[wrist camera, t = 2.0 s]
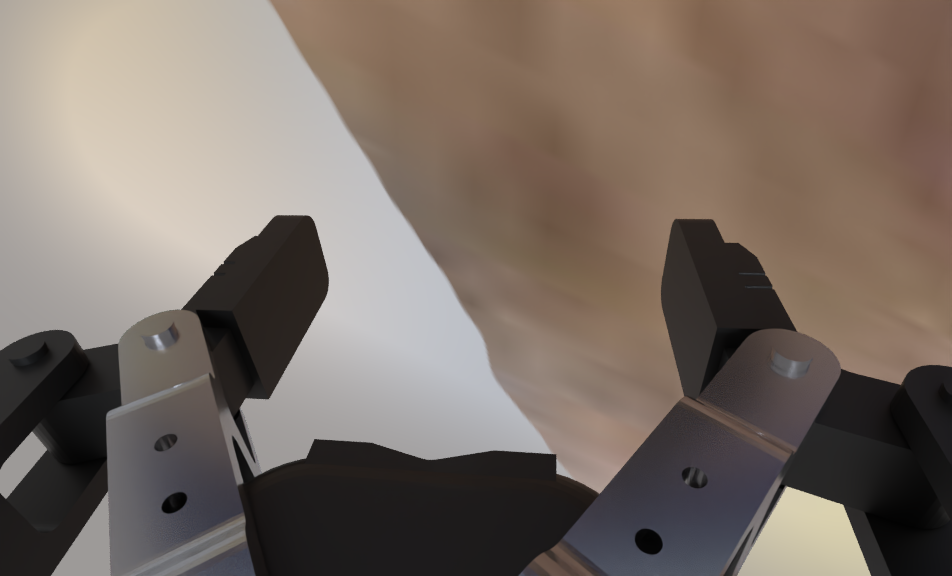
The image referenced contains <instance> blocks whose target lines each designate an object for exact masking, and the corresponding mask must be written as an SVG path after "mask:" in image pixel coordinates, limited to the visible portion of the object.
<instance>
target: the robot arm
mask: <svg viewBox="0 0 952 576" xmlns="http://www.w3.org/2000/svg"><path fill="white" fill-rule="evenodd" d="M328 284H329V277H328V271H327V267H326V263H325V259H324V255H323V252H322V248H321V244H320V240H319V237H318V233H317V229H316V226H315V223H314V221H313V219H312V218H311V217H310V216H297V215H295V216H294V215H291V216H290V215H289V216H287V215H285V216H284V215H277V216H275V217H274V218H273V219H272V220H271V221H270V222H269V223H268V225H267V226H266V227H265V228H264V229H263V231H262V232H261V233H260V234H259V235H258V236H254V237H253V238H251V239H249V240H248V241H246V242H245V243H243V244H241V245H240V246H238V247H237V248H235V250H234V251H233V252H232V253H231V254H230V255H229V256H228V257H227V258H226V260H225V261H224V264H221V265H220V266H219V268H218V269H217V270H216V271H215V272H214V276H211V277H210V278H209V279H208V280H207V281H206V282H205V283H204V285H203V286H202V287H201V288H200V289H199V290H198V291H197V292H196V294H195V295H194V296H193V297H192V298H191V299H190V300H189V301H188V303H187V304H186V305H185V306H184V307H183V308H182V309H181V310H169V311H164V312H160V313H157V314H154V315H151V316H149V317H147V318H145V319H143V320H141V321H139V322H137V323H136V324H135V325H133V326H132V327H131V328H130V329H128V330H127V331H126V332H125V333H124V335H123V336H122V337H121V339H120V341H119V343H118V344H114V345H108V346H103V347H97V348H92V349H86V350H83V349H82V348H81V346H80V345H79V343H78V342H77V340H76V339H75V337H74V336H73V335H72V334H71V333H69V332H67V331H63V330H50V331H44V332H40V333H36V334H33V335H30V336H27V337H25V338H22V339H20V340H18V341H16V342H14V343H12V344H10V345H9V346H7V347H5V348H4V349H3V350H1V351H0V469H1V467H2V465H3V463H4V462H5V461H6V460H7V459H8V458H9V456H10V455H11V454H12V453H13V452H14V451H15V450H16V448H17V447H18V446H19V445H20V444H21V443H22V442H23V441H24V440H25V438H26V437H27V436H28V435H29V434H30V433H31V432H32V431H33V433H34V434H35V435H36V436H37V437H38V439H39V440H40V441H41V442H42V443H43V445H44V446H45V447H46V448H47V451H46V452H45V453H44V454H43V456H42V457H41V458H40V459H39V460H38V462H37V463H36V464H35V465H34V466H33V468H32V469H31V470H30V471H29V472H28V474H27V475H26V476H25V477H24V478H23V480H22V481H21V482H20V483H19V484H18V486H17V487H16V488H15V489H14V491H13V492H12V493H11V494H10V495H9V496H8V498H7V499H5V498H4V497H3V496H2V495H1V494H0V576H51V575H52V573H53V572H54V570H55V568H56V567H57V565H58V564H59V563H60V561H61V560H62V558H63V557H64V555H65V554H66V552H67V551H68V549H69V548H70V546H71V545H72V543H73V542H74V541H75V539H76V538H77V536H78V535H79V533H80V532H81V530H82V528H83V527H84V526H85V524H86V523H87V521H88V520H89V518H90V516H91V515H92V514H93V512H94V511H95V509H96V508H97V506H98V505H99V504H100V502H101V501H102V499H103V498H104V496H105V495H106V493H107V492H108V497H109V498H108V499H109V500H108V501H109V535H110V567H111V576H737V575H738V573H739V571H740V569H741V567H742V565H743V563H744V562H745V560H746V558H747V556H748V554H749V552H750V551H751V549H752V547H753V545H754V544H755V542H756V540H757V538H758V537H759V535H760V533H761V531H762V529H763V528H764V526H765V524H766V523H767V521H768V519H769V517H770V515H771V514H772V512H773V510H774V508H775V507H776V505H777V503H778V501H779V500H780V498H781V496H782V494H783V492H784V491H785V489H786V487H787V486H788V487H791V488H794V489H797V490H800V491H804V492H806V493H809V494H813V495H816V496H819V497H821V498H824V499H827V500H831V501H834V502H837V503H840V504H843V505H844V508H845V510H846V513H847V515H848V518H849V520H850V523H851V525H852V528H853V530H854V533H855V536H856V538H857V540H858V543H859V546H860V548H861V551H862V553H863V556H864V558H865V561H866V563H867V566H868V569H869V571H870V574H871V576H952V367H948V366H940V365H927V366H921V367H917V368H915V369H913V370H911V371H910V372H909V373H908V374H907V375H906V377H905V379H904V380H903V382H902V384H901V385H899V384H895V383H891V382H887V381H883V380H879V379H875V378H871V377H866V376H862V375H858V374H855V373H851V372H848V371H846V370H843V369H841V367H840V363H839V361H838V359H837V357H836V356H835V355H834V353H833V352H832V351H831V350H830V349H829V348H827V347H826V346H825V345H823V344H822V343H821V342H819V341H817V340H815V339H814V338H812V337H809V336H807V335H805V334H802V333H799V332H797V331H796V329H795V327H794V325H793V323H792V321H791V320H790V318H789V316H788V314H787V312H786V310H785V309H784V307H783V305H782V303H781V301H780V299H779V297H778V296H777V294H776V292H775V290H774V289H772V284H771V283H770V281H769V279H768V277H767V276H765V271H764V270H763V268H762V266H761V264H760V262H759V260H758V259H757V257H756V256H755V255H753V254H752V253H751V252H750V251H748V250H747V249H746V248H744V247H743V246H742V245H740V244H739V243H724V241H723V239H722V236H721V234H720V232H719V230H718V228H717V226H716V224H715V222H714V220H712V219H675V220H674V222H673V224H672V228H671V233H670V238H669V244H668V249H667V255H666V261H665V266H664V272H663V277H662V285H661V302H662V309H663V313H664V317H665V321H666V325H667V329H668V333H669V337H670V341H671V345H672V349H673V352H674V356H675V360H676V364H677V368H678V372H679V376H680V380H681V384H682V388H683V392H684V397H683V398H682V399H680V400H679V401H678V403H677V404H676V405H675V406H674V407H673V408H672V410H671V411H670V412H669V413H668V414H667V415H666V417H665V418H664V419H663V420H662V421H661V423H660V424H659V425H658V426H657V427H656V428H655V430H654V431H653V432H652V433H651V434H650V436H649V437H648V438H647V439H646V440H645V441H644V443H643V444H642V445H641V446H640V447H639V448H638V450H637V451H636V452H635V453H634V454H633V456H632V457H631V458H630V459H629V460H628V461H627V463H626V464H625V465H624V466H623V467H622V469H621V470H620V471H619V472H618V473H617V474H616V476H615V477H614V478H613V479H612V480H611V482H610V483H609V484H608V485H607V486H606V487H605V489H604V490H603V491H602V492H601V493H600V494H599V493H597V492H596V491H594V490H593V489H591V488H589V487H587V486H586V485H584V484H582V483H580V482H577V481H575V480H573V479H570V478H568V477H565V476H562V475H559V474H556V454H541V453H525V452H509V451H488V452H482V453H475V454H470V455H463V456H457V457H450V458H444V459H438V460H425V459H421V458H418V457H415V456H412V455H408V454H405V453H402V452H399V451H396V450H393V449H389V448H386V447H383V446H380V445H377V444H374V443H366V442H350V441H335V440H319V439H318V440H317V439H314V442H313V444H312V446H311V449H310V451H309V453H308V456H307V458H306V459H301V460H297V461H294V462H290V463H286V464H283V465H281V466H278V467H275V468H272V469H270V470H268V471H266V472H264V473H262V472H261V469H260V465H259V462H258V459H257V456H256V452H255V449H254V446H253V443H252V440H251V436H250V433H249V430H248V426H247V423H246V420H245V417H244V415H243V412H242V410H241V408H240V406H241V405H242V403H243V401H244V400H245V398H253V399H269V398H270V396H271V394H272V393H273V391H274V389H275V387H276V385H277V384H278V382H279V380H280V378H281V377H282V375H283V373H284V371H285V369H286V368H287V366H288V364H289V362H290V360H291V359H292V357H293V355H294V353H295V352H296V350H297V348H298V346H299V344H300V342H301V341H302V339H303V337H304V335H305V334H306V332H307V330H308V328H309V326H310V325H311V323H312V321H313V319H314V318H315V316H316V314H317V312H318V310H319V309H320V307H321V305H322V303H323V301H324V300H325V297H326V295H327V292H328Z"/></svg>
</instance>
